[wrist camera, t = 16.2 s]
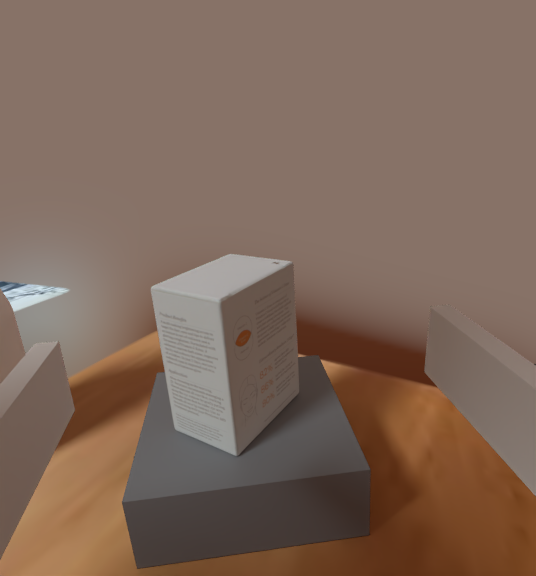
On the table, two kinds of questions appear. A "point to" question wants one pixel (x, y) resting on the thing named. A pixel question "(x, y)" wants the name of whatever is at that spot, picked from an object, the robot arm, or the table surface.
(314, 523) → the plinth
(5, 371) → the wine bottle
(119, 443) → the table surface
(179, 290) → the small box
